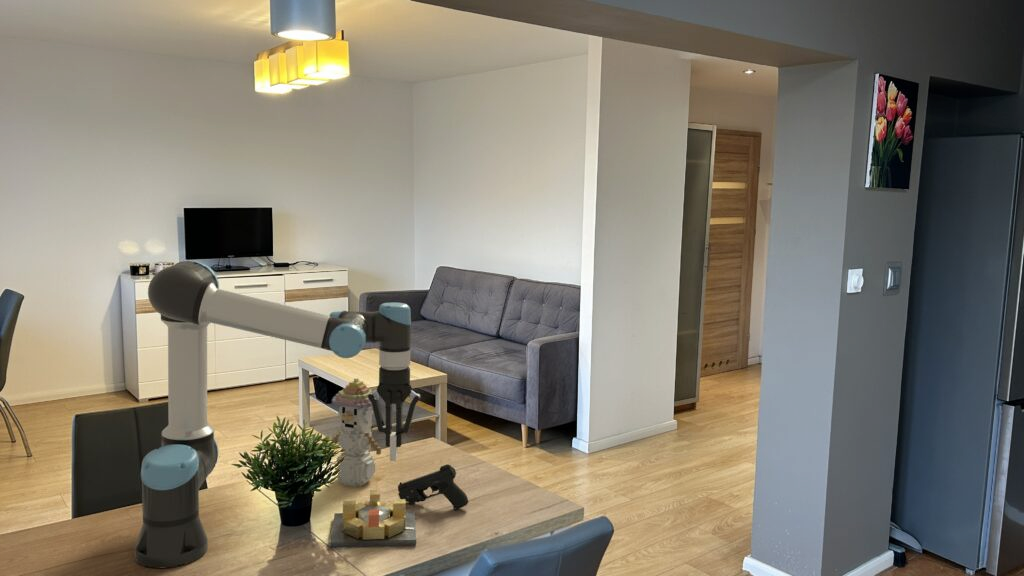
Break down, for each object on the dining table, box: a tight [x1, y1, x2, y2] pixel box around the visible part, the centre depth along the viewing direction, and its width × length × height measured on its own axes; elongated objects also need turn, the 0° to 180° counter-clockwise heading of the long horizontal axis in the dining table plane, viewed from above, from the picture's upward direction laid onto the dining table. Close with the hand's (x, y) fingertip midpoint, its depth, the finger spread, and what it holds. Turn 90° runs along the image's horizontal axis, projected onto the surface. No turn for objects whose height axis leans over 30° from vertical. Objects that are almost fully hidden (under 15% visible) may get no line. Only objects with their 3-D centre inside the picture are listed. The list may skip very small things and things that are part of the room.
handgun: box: [397, 464, 469, 511], centre depth 208 cm, size 2×17×12 cm, turn 78°
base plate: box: [329, 505, 417, 549], centre depth 192 cm, size 20×16×5 cm
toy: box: [330, 377, 382, 488], centre depth 221 cm, size 16×12×30 cm
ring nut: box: [342, 489, 407, 540], centre depth 192 cm, size 15×15×6 cm
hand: (393, 458), depth 195 cm, fingers closed
